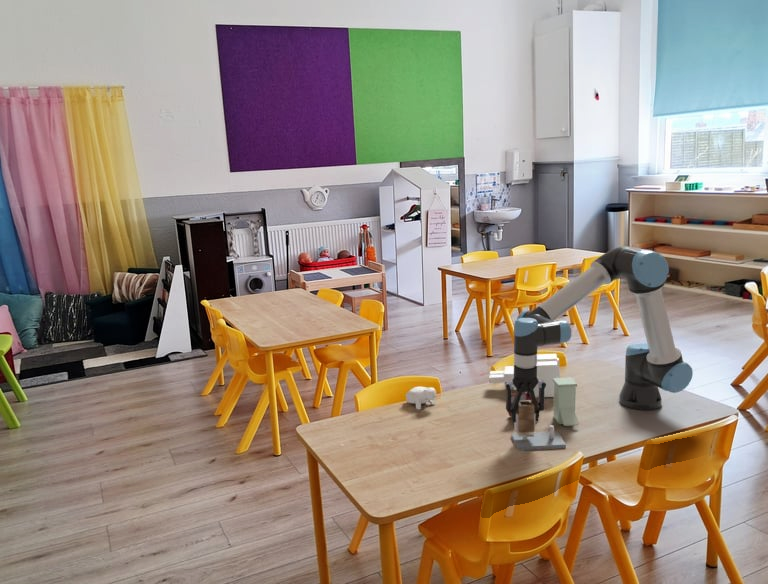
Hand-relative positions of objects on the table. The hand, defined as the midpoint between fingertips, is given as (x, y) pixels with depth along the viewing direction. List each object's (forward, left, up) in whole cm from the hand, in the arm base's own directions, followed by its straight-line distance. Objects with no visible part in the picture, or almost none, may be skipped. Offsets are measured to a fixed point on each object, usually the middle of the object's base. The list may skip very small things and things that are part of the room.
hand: (524, 430), depth 219 cm
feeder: (-19, -14, -5) cm, 24 cm away
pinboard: (-5, 0, -5) cm, 7 cm away
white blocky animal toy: (+32, -37, -5) cm, 49 cm away
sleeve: (0, 0, -1) cm, 1 cm away
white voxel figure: (-11, -47, -5) cm, 49 cm away
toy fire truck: (-5, -20, -5) cm, 21 cm away
